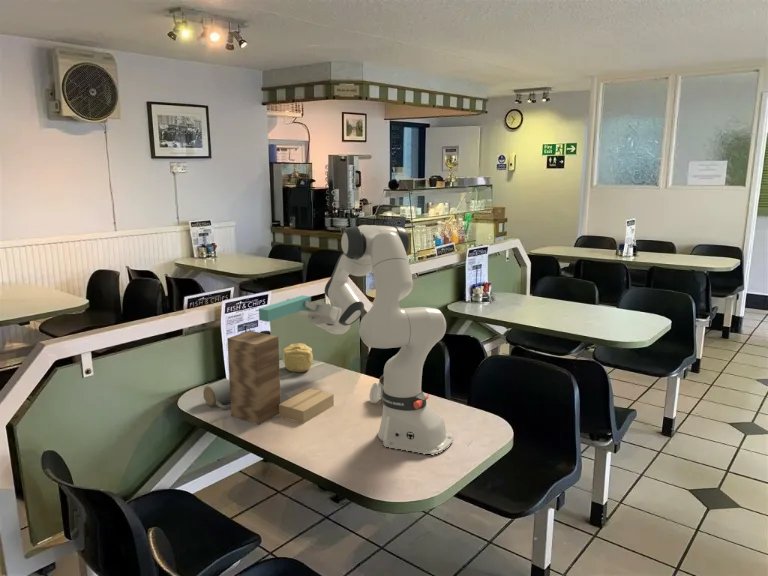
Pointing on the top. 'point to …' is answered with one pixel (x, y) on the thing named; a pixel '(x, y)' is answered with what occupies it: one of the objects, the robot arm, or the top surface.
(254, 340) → the walnut stand
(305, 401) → the kraft parcel
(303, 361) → the sculpture
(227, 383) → the ceramic mug
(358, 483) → the top surface
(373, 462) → the top surface
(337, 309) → the robot arm
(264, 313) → the teal carton
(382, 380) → the spread jar
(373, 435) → the top surface
